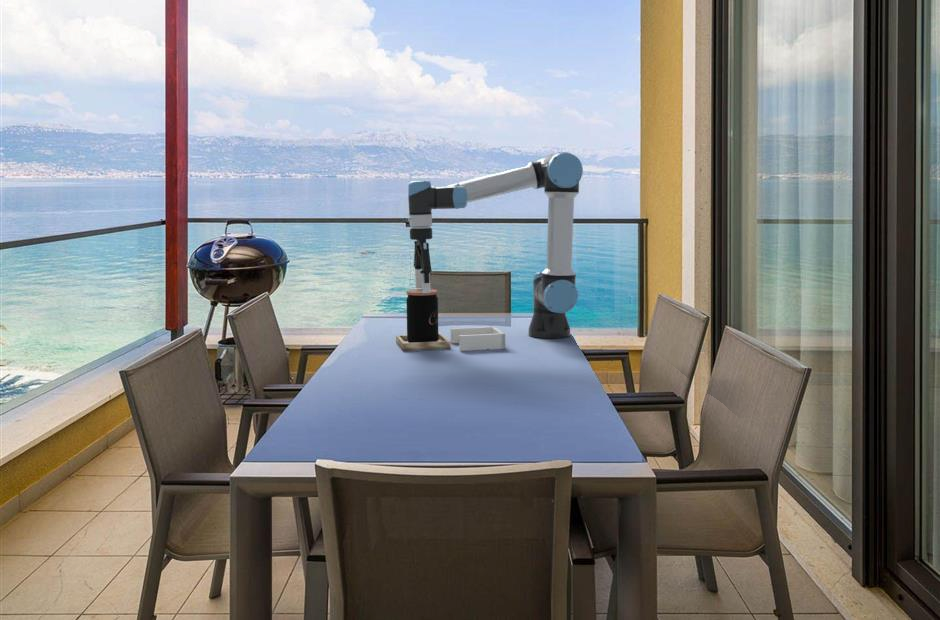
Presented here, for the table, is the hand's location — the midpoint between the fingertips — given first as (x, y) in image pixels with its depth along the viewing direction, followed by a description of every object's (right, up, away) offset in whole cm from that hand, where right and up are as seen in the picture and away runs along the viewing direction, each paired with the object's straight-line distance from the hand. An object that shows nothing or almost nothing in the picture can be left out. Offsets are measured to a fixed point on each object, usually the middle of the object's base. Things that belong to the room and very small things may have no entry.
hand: (423, 290), depth 288 cm
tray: (0, -19, +3) cm, 19 cm away
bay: (+18, -19, +2) cm, 26 cm away
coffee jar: (0, -18, +3) cm, 18 cm away
